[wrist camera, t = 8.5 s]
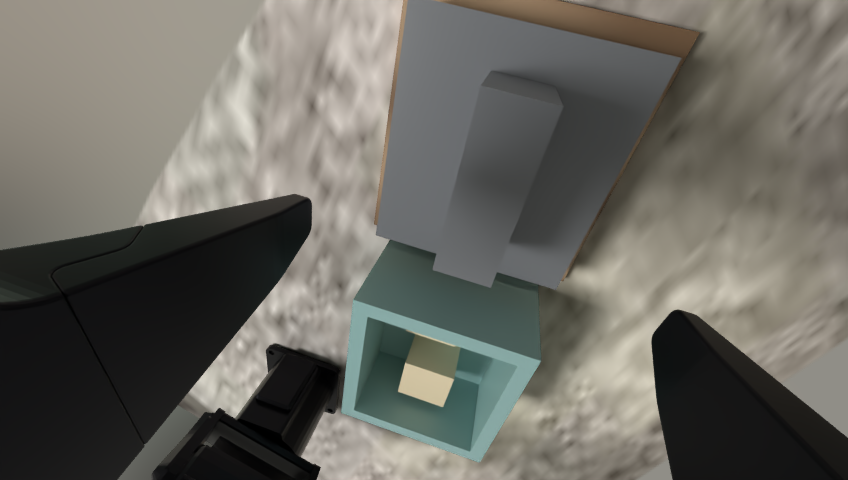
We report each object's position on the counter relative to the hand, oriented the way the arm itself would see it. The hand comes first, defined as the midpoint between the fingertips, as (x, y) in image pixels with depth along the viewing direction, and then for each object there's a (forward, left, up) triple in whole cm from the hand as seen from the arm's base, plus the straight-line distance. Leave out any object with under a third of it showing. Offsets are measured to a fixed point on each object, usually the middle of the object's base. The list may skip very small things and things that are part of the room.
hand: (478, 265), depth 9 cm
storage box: (-12, 0, -10) cm, 16 cm away
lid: (0, 0, -10) cm, 10 cm away
